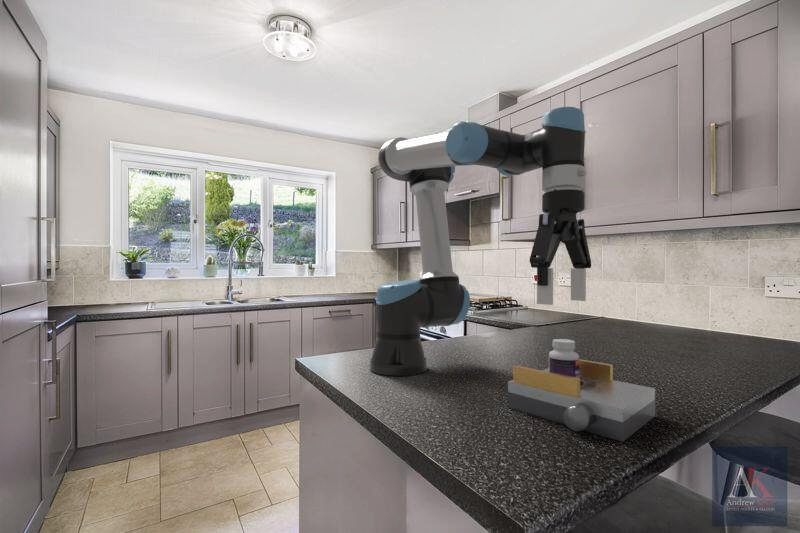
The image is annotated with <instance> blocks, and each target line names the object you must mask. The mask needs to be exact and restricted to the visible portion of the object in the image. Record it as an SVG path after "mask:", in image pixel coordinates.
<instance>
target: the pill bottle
mask: <svg viewBox="0 0 800 533" xmlns="http://www.w3.org/2000/svg"><path fill="white" fill-rule="evenodd" d="M551 345H552V349H553V350H550V351H549V353H548V368H549V372H552V373H557V374H562V375H567V376H572V377H576V378H579V359H580V355H579V354H578V353H577V352H575V349H576V341H575V340H573V339H568V338H555V339H552V344H551Z"/></svg>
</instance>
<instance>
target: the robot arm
mask: <svg viewBox="0 0 800 533" xmlns="http://www.w3.org/2000/svg"><path fill="white" fill-rule="evenodd" d="M586 134H587V132H586V129H585V114H584V112H583V110H581V109H580V108H578V107H575V106H561V107H556V108H553V109H550V110H548V111H547V112H546V113H545V114H544V115H543V117H542V123H541V128H538V129H536V130H534V131H532V132H528V133H525V134H520V133H515V132H511V131H507V130H503V129H499V128H495V127H491V126H487V125H483V124H479V123H477V122H474V121H472V122H467V121H458V122H456V123H454V125H453V126H452V127H451V128H449V130H448V131H445V132H439V133H433V134H429V135H426V136H420V137H416V138H415V137H414V138H410V139H408V138H405V137H401V136H400V137H395V138H391V139H389V140H387V141H386V142H384V143H383V144H382V146H381V147H380V149H379V152H378V164H379V167H380V169H381V170H382V171H383V173H384V174H385V175H386V176H387V177H389V178H391V179H393V180H396V181H401V182H407V183H408V184H409V191H410V192H411V194H413V195H414V196H415V202H416V214H417V224H418V236H419V245H420V246H419V247H420V256H421V257H420V258H421V267H422V275H421V277H419V278H418V279H408V280H407V279H406V280H399V281H397V280H396V281H391V282H386V283H383V284H380V286H378V288H377V290H376V292H377V293H376V301H375V304H376V341H375V345H374V346H373V347H374V348H373V351H372V355H371V358H370V360H369V371H371V372H373V373H374V374H379V375H383V376H384V375H385V376H395V377H396V376H397V377H398V376H399V377H401V376H413V375H419V374H422V373H425V372H426V371H427V369H428V364H427V363H428V361H427V360H428V359H427V358H426V357H425V352H424V349H423V345H422V341H421V328H432V327H433V328H434V327H449V326H451V325H457V324H460V323H462V322H463V321H464V320H465V319H466V316H467V315H468V313H469V310H470V305H471V296H470V293H469V291H468V289H467V287H466V286H465V285H463V284H461V283H460V276H459V275H458V274H457V273H455V272H454V271H453V270H454V269H453V261H452V251H451V243H450V242H451V241H450V234H449V233H450V232H449V231H450V230H449V222H448V214H447V207H446V206H447V205H446V204H447V203H446V194H445V192H446V191H447V190H448V189H449V188H450V186H449V185H450V184H451V182H452V181H453V179H454V177H455V176H454V173H455V171H456V167H459V166H482V167H489V168H494V169H496V170H497V171H498V172H499V173H500V174H501V175H503V176H506V177H512V176H519V175H520V176H521V175H523V174H525V173H528V172H532V171H535V170H538V169H539V170H540V169H541V170H542V171H541V172H542V173H541V174H542V176H541V178H542V179H541V191H543V192H544V193H543V194H542V195H541V196H542V197H541V201H542V202H541V210H542V213H540V214H539V215H538V216H539V217H538V227H537V230H536V234H535V238H534V242H533V244H532V248H531V253H530V256H529V264H530V267H531V268H533V269H536V272H537V273H536V304H537V305H545V306H546V305H548V306H550V305H551V306H554V268H553V267H551V265H552V263H553V261H554V259H555V256H556V254H557V252H558V249H559V248H560V247H559V246H560V244H561V243H562V244H564V245H565V249H566V252H567V253H568V256H569V259H570V262H571V264H572V268H570V301H581V302H586V300H587V299H586V297H587V296H586V295H587V285H586V284H587V283H586V282H587V269H591V268H592V260H591V259H592V258H591V255H590V249H589V244H588V238H587V235H586V229H585V226H586V225H585V219H584V218H580V219H578V218H577V214H578V213H581V212H583V211H584V210H585V203H586V202H585V192H584V191H583V189H584V188H585V176H587V171H586V170H585V146H586V145H585V144H586V143H585V142H586Z"/></svg>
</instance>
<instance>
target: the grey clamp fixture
mask: <svg viewBox="0 0 800 533" xmlns="http://www.w3.org/2000/svg"><path fill="white" fill-rule="evenodd" d="M613 366H614V365H613V364H611V363H605V362H597V361H592V360H587V359H586V360H585V359H581V358H579V378H576V377H572V376H567V375H562V374H557V373H552V372H549V367H547V368H544V369H542V370H541V369H538V368H537V369H536V368H532V367H526V366H522V365H517V364H516V365H514V366H512V372H513V373H512V379H511V380H509V381H507V408H508V409H512V410H514V411H517V412H521V413H525V414H527V415H531V416H534V417H539V418H541V419H544V420H548V421H552V422H555V423H558V424H561V425H564V426H567V427H568V428H569V429H571V430H573V432H581V431H584V432H589V433H591V434H595V435H599V436H602V437H605V438H608V439H611V440H615V441H619V442H621V443H624V442H625V441H626V440H627V439H628V438H630V437H631V436H632V435H634V434H635V433H636V432H638V430H640V429H641V428H642V427H644V426H645V425H646V424H648V423H649V422H650V421H651V420H652V419H654V418H655V417H656V388H655V387H649V386H645V385H640V384H634V383H630V382H624V381H620V380H614V378H613V376H614V371H613V370H614V369H613V368H614V367H613Z"/></svg>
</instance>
